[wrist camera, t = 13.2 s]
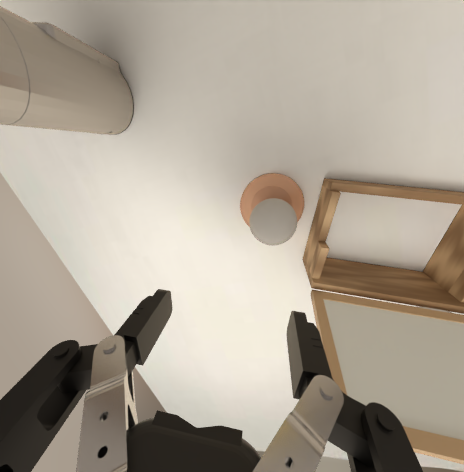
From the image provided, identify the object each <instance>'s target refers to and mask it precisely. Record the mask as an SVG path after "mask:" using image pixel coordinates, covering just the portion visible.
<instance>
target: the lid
mask: <svg viewBox="0 0 464 472" xmlns="http://www.w3.org/2000/svg"><path fill="white" fill-rule="evenodd" d="M311 299H312V304H313V309H314V315H315V320H316V325H317V329H318V331H319V333H320V336H321V341H322V343H323V347H324V350H325V354H326V357H327V361H328V364H329V368H330V371H331V375H332V378H333V380H334V382H335V383H336V384H337V385H338V386H339V387H340V389H341V391H342V392H343V393H345V394H346V395H347V396H349V397H351V398H353V399H354V400H356V401H358V402H360V403H362V404H364V405H366V406H367V404H369V403H371V402H375V403H379V404H381V405H383V406H385V407H387V408H388V409H389V410H390V411H391V412H393V413H394V414H395V416H396V417H397V418H398V419H399V421H400V422H401V424H402V426H403V428H404V430H405V432H406V434H407V437H408V439H409V441H410V443H411V446H412V448H413V450H414V452H416V453H420V454H424V455H428V456H432V457H436V458H440V459H444V460H448V461H452V462H456V463H460V464H464V315H460V314H454V313H448V312H442V311H436V310H430V309H424V308H418V307H412V306H406V305H400V304H394V303H388V302H382V301H376V300H370V299H364V298H358V297H352V296H346V295H341V294H335V293H329V292H323V291H317V290H312V291H311Z"/></svg>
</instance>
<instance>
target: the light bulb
mask: <svg viewBox="0 0 464 472" xmlns="http://www.w3.org/2000/svg"><path fill="white" fill-rule="evenodd" d="M249 224H250V229H251V232H252V234H253V235H254V237H255V238H256V239H257V240H259V241H260V242H262V243H264V244H267V245H279V244H282V243H284V242H286V241H287V240H289V239H290V238H291V237H292V235H293V234H294V232H295V230H296V227H297V216H296V213H295V211H294V209H293V207H292V206H291V205H290V204H289V203H287V202H286V201H284V200H281V199H277V198H271V199H266V200H264V201H262V202H260V203H259V204H257V205H256V206H255V208H254V209H253V211H252V213H251V215H250V221H249Z"/></svg>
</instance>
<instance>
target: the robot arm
mask: <svg viewBox="0 0 464 472" xmlns="http://www.w3.org/2000/svg"><path fill="white" fill-rule="evenodd" d="M132 114H133V100H132V95H131V92H130V89H129V87H128V84H127V82H126V81H125V79H124V78H123V76H122V75H121V73H120V70H119V64H118V62H116V61H115V60H113V59H111V58H109V57H108V56H106V55H104V54H102V53H101V52H99V51H97V50H95V49H94V48H92V47H90V46H89V45H87V44H85V43H83V42H82V41H80V40H78V39H76V38H75V37H73V36H71V35H69V34H68V33H66V32H64V31H63V30H61V29H59V28H57V27H56V26H54V25H52V24H49V23H36V22H29V21H27V20H25V19H24V18H22V17H20V16H18V15H16V14H14V13H12V12H10V11H9V10H7V9H5V8H3V7H1V6H0V124H2V125H13V126H23V127H34V128H45V129H55V130H66V131H76V132H87V133H97V134H109V135H113V134H118V133H121V132H122V131H124V130H125V129H126V128H127V127H128V125H129V123H130V121H131V119H132ZM171 313H172V301H171V292H170V291H167V290H161V289H158V290H157V291H156V293H155V294H154V295H153V296H148V297H147V298H145V299H144V300H142V301H141V303H140V304H139V305H138V306H137V308H136V309H135V310H134V311H133V313H132V314H131V315H130V316H129V318H128V319H127V320H126V321H125V323H124V324H123V325H122V326H121V328H120V329H119V330H118V331H117V333H116V334H115V335H114V336H110V337H107V338H105V339H104V340H102V341H101V342H100V343H99V344H96V345H89V346H81V347H80V346H79V344H78V342H77V341H75V340H68V341H64V342H61V343H59V344H57V345H56V346H54V347H53V348H52V349H51V350H49V351H48V352H47V353H46V355H44V356H43V357H42V359H41V360H40V361H39V362H38V363H37V364H35V366H34V367H33V368H32V369H31V370H30V371H29V372H28V373H27V374H26V375H25V376H24V377H23V378H22V379H21V380H20V381H19V382H18V383H17V384H16V385H15V386H14V387H13V388H12V389H11V390H10V391H9V392H8V393H7V394H6V395H5V396H4V397H3V398H2V399H1V400H0V472H31V471H32V469H33V468H34V466H35V465H36V463H37V462H38V461H39V459H40V457H41V456H42V455H43V453H44V452H45V450H46V449H47V447H48V446H49V444H50V443H51V441H52V440H53V438H54V437H55V435H56V434H57V433H58V431H59V430H60V428H61V427H62V425H63V424H64V422H65V421H66V419H67V418H68V416H69V415H70V413H71V412H72V410H73V409H74V407H75V406H76V405H77V403H78V401H79V400H80V399H81V397H82V396H83V394H84V393H85V391H86V390H87V389H90V391H88V392H87V393H86V395H85V400H84V408H83V417H82V425H81V434H80V442H79V451H78V460H77V468H76V472H315V471H316V469H317V466H318V464H319V462H320V459H321V457H322V455H323V452H324V449H325V445H326V443H327V440H328V441H329V442H331V443H333V444H334V445H336V446H337V447H339V448H340V449H342V450H343V451H345V452H347V455H348V459H349V463H350V468H351V472H423V471H422V468H421V466H420V464H419V462H418V459H417V457H416V455H415V453H414V450H413V448H412V446H411V443H410V441H409V439H408V437H407V434H406V432H405V430H404V428H403V426H402V424H401V422H400V421H399V419H398V418H397V417H396V416H395V414H394V413H393V412H391V411H390V410H389V409H388V408H387V407H385V406H383V405H381V404H379V403H375V402H371V403H369V404H367V406H366V405H364V404H362V403H360V402H358V401H356V400H354V399H353V398H351V397H349V396H347V395H346V394H345V393H343V392H342V391H341V389H340V387H339V386H338V385H337V384H336V383H335V382H334V380H333V378H332V375H331V371H330V368H329V364H328V361H327V357H326V354H325V350H324V347H323V343H322V341H321V336H320V333H319V331H318V329H317V328H316V326H315V325H314V323H308V322H307V319H306V315H305V313H302V312H296V311H292V312H291V316H290V320H289V323H288V327H287V344H288V353H289V362H290V371H291V380H292V389H293V398H296V399H300V400H299V402H298V403H297V405H296V406H295V408H294V410H293V411H292V412H291V413H290V414H289V415H288V416H287V418H286V419H285V421H284V423H283V424H282V426H281V427H280V429H279V431H278V432H277V434H276V435H275V437H274V438H273V440H272V442H271V443H270V445H269V446H268V448H267V450H266V451H265V453H264V454H263V456H262V458H261V457H260V456H259V454H258V453H257V451H256V450H255V449H254V448H253V447H252V446H251V445H250V444H249V443H248V442H247V441H245V440H244V439H242V431H241V430H237V429H233V428H229V427H224V426H213V427H204V428H196V427H194V426H193V425H191V424H190V423H188V422H187V421H185V420H184V419H182V418H181V417H179V416H178V415H174V414H170V413H165V412H161V411H157V413H156V415H155V417H154V418H150V419H147V420H144V421H142V422H140V423H138V421H137V414H136V407H135V395H134V382H133V371H132V370H133V369H134V367H135V365H136V364H139V365H143V364H144V362H145V361H146V359H147V357H148V355H149V354H150V352H151V350H152V348H153V346H154V345H155V343H156V341H157V339H158V337H159V336H160V334H161V332H162V330H163V329H164V327H165V325H166V323H167V321H168V320H169V318H170V316H171Z"/></svg>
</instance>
